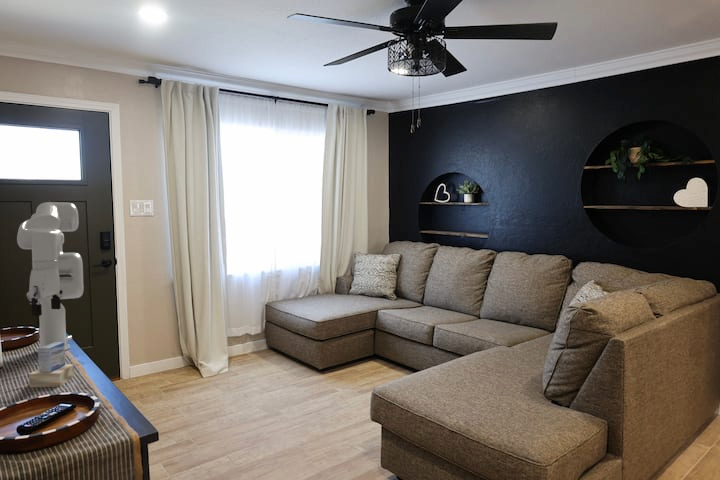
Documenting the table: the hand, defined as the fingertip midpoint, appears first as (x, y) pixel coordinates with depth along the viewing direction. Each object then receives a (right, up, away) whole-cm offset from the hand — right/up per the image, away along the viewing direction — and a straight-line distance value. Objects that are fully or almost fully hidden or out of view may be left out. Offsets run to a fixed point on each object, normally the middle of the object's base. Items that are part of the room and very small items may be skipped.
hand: (46, 312), depth 172 cm
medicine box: (+3, -20, -1) cm, 21 cm away
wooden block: (+3, -25, -1) cm, 25 cm away
